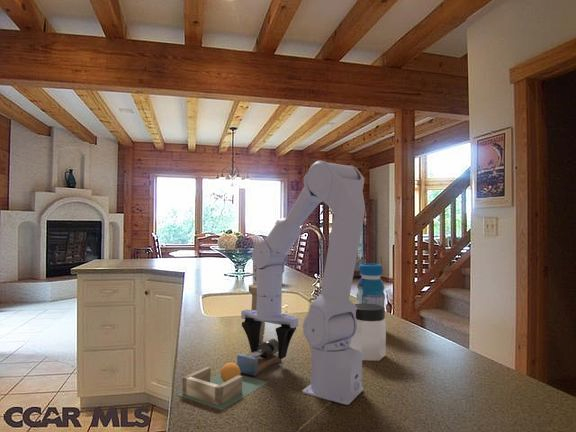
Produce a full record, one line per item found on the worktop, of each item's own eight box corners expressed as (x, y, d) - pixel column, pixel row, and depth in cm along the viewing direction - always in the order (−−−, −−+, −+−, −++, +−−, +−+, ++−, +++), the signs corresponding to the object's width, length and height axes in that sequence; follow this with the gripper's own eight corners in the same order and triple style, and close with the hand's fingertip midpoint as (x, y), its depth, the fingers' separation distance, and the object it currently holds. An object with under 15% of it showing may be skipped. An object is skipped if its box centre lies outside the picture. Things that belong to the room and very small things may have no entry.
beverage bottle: (373, 336, 114) (374, 266, 114) (350, 329, 120) (351, 264, 120) (390, 331, 119) (390, 265, 120) (367, 325, 126) (368, 262, 126)
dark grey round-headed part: (265, 357, 93) (265, 337, 93) (281, 360, 91) (282, 340, 91) (237, 371, 84) (237, 349, 84) (254, 376, 82) (254, 353, 82)
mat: (267, 383, 80) (267, 382, 80) (222, 411, 68) (222, 410, 68) (225, 372, 85) (225, 370, 85) (176, 396, 73) (176, 394, 73)
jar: (381, 350, 101) (382, 303, 102) (389, 361, 93) (390, 310, 93) (346, 349, 101) (347, 302, 102) (351, 360, 93) (352, 309, 94)
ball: (244, 382, 79) (244, 362, 80) (231, 389, 76) (232, 368, 76) (229, 377, 82) (229, 358, 82) (216, 384, 78) (216, 364, 78)
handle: (260, 337, 111) (261, 284, 111) (270, 343, 106) (271, 287, 106) (244, 339, 109) (245, 285, 109) (253, 346, 103) (254, 288, 104)
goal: (242, 392, 75) (242, 376, 75) (219, 405, 69) (219, 388, 69) (206, 381, 79) (206, 366, 79) (182, 393, 74) (182, 377, 74)
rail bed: (281, 360, 93) (281, 353, 93) (254, 375, 84) (254, 367, 84) (271, 358, 94) (272, 351, 94) (245, 372, 85) (245, 365, 85)
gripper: (305, 295, 90) (304, 355, 90) (253, 289, 98) (253, 344, 98) (289, 300, 84) (288, 364, 84) (236, 293, 92) (234, 352, 92)
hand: (268, 354), depth 90 cm, fingers open, 7 cm apart
